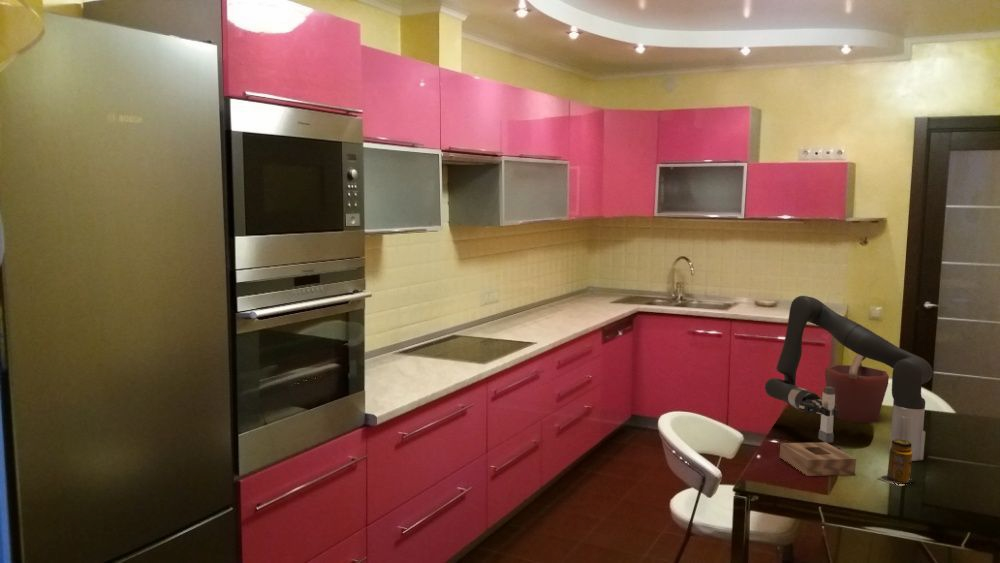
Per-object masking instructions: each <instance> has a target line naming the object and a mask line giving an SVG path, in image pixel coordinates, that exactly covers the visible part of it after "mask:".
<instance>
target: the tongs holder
mask: <svg viewBox="0 0 1000 563" xmlns="http://www.w3.org/2000/svg"><path fill="white" fill-rule="evenodd" d="M779 444H780V445H779V459H780V458H781V459H783V460H784V461H783V460H782V461H783V462H785V461H786V462H788V463H789V464H791V465H792V466H793V468H794V467H795V468H796V469H795V468H794V469H795V470H797V469H798V470H799V471H798V470H797V471H798V472H800V471H801V472H802V474H803V475H804V474H805V476H807V477H814V476H817V477H818V476H819V477H820V476H823V477H824V476H852V475H856V466H857V465H856V464H857V458H855V457H854V456H851V455H850V454H848V453H847V452H844V451H843V450H841V449H838V448H837V447H836V446H833V445H831V444H829V442H828V443H826V442H824V441H822V442H780V443H779ZM781 459H780V460H781ZM786 462H785V463H786ZM788 463H787V464H788ZM789 464H788V465H789ZM791 465H790V466H791ZM792 466H791V467H792ZM801 472H800V473H801Z"/></svg>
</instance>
